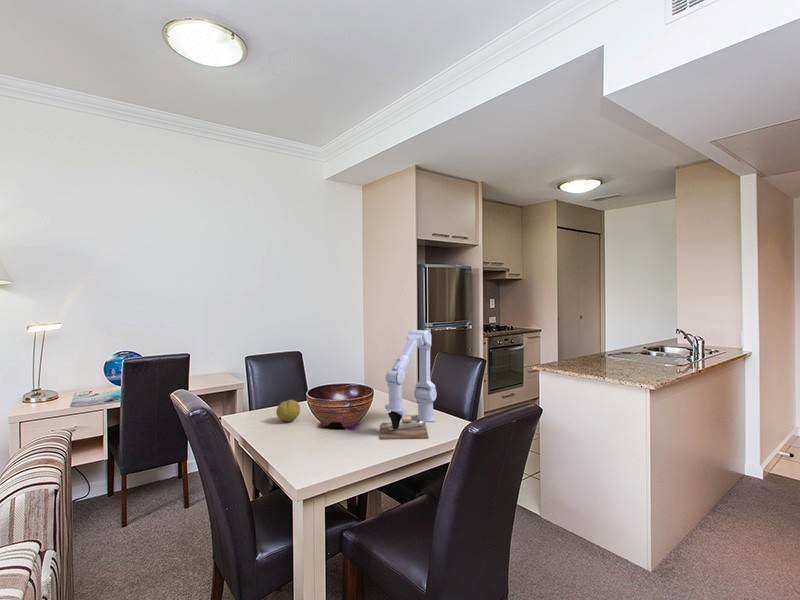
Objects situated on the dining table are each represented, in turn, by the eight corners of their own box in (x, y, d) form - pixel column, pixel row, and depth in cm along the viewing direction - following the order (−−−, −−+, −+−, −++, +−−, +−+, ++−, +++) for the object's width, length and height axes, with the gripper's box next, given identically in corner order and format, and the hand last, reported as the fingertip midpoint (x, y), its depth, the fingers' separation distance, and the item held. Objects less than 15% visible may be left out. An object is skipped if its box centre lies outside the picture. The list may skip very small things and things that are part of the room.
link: (421, 423, 188) (421, 419, 188) (424, 426, 185) (424, 421, 185) (386, 428, 182) (386, 423, 182) (389, 430, 178) (389, 426, 178)
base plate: (381, 424, 191) (381, 422, 191) (424, 424, 192) (424, 421, 192) (380, 439, 171) (380, 437, 171) (428, 438, 172) (428, 436, 172)
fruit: (305, 420, 199) (305, 400, 199) (284, 426, 190) (283, 404, 190) (293, 416, 207) (293, 396, 207) (271, 421, 198) (271, 400, 198)
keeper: (420, 423, 190) (420, 414, 190) (421, 427, 183) (421, 419, 183) (402, 423, 190) (402, 415, 190) (402, 428, 183) (402, 419, 183)
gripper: (379, 395, 183) (379, 426, 183) (396, 402, 171) (396, 435, 171) (392, 393, 187) (392, 423, 187) (410, 400, 174) (410, 432, 174)
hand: (395, 428), depth 179 cm, fingers closed
